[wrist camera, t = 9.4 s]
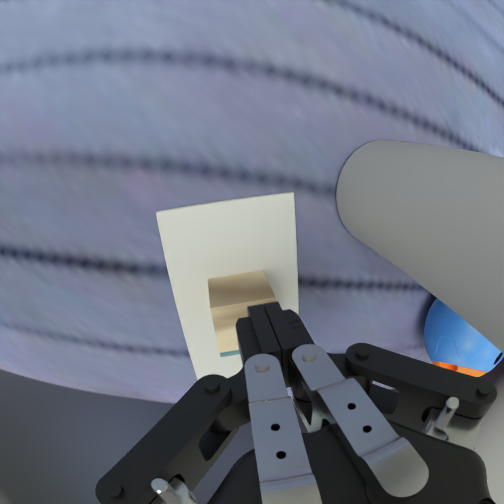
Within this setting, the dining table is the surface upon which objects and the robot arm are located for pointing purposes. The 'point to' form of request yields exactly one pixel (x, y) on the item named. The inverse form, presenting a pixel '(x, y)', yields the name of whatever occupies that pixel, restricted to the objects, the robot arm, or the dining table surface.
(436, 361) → the treat dispenser ball
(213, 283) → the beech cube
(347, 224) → the cylinder vase
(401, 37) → the dining table surface
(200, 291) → the cream mat
